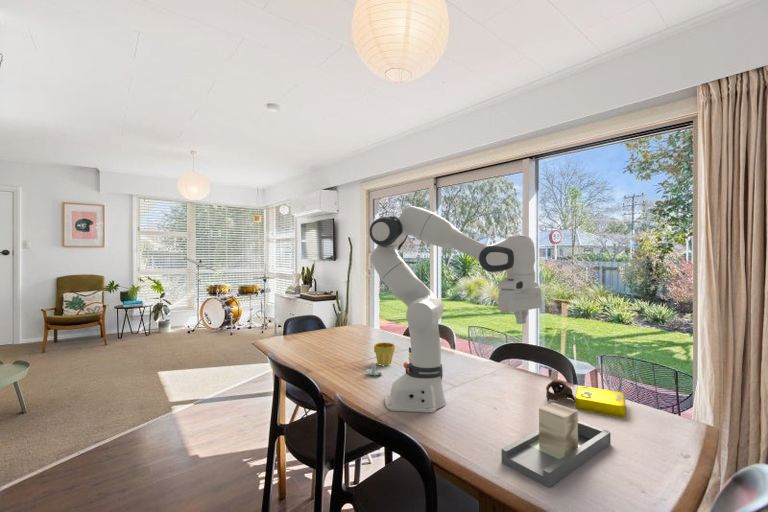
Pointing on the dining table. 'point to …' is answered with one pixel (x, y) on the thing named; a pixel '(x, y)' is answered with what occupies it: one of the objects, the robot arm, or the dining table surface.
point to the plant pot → (384, 353)
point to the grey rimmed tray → (554, 455)
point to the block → (558, 428)
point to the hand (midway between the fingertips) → (521, 323)
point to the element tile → (600, 401)
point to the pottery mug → (559, 391)
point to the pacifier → (372, 371)
